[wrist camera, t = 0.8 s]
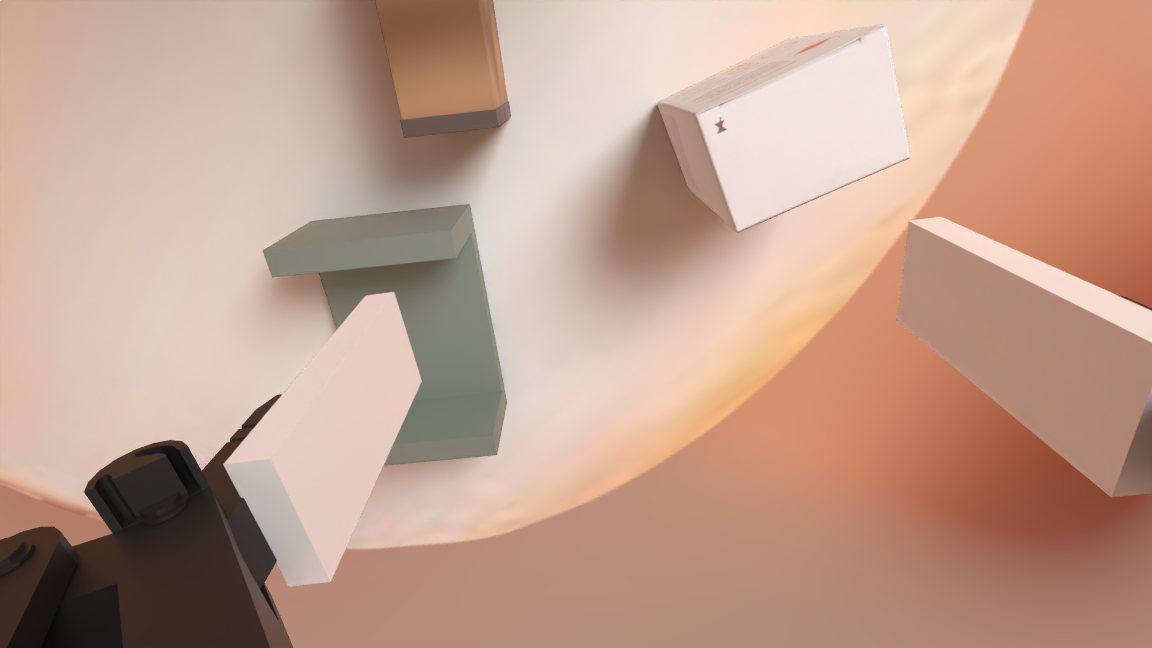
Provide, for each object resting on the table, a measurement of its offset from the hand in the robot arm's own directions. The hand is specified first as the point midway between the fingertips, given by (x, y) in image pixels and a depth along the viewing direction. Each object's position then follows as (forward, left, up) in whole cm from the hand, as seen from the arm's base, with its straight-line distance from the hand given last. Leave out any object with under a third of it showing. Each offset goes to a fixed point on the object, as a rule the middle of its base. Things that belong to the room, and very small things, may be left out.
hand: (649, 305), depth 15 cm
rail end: (-9, -7, -21) cm, 24 cm away
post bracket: (+8, -13, -21) cm, 26 cm away
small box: (-2, +8, -21) cm, 23 cm away
